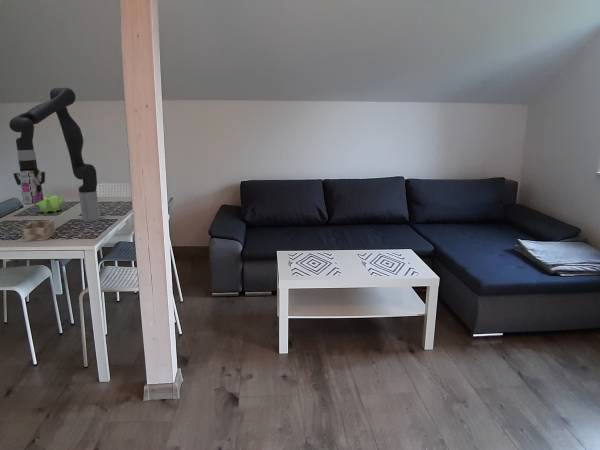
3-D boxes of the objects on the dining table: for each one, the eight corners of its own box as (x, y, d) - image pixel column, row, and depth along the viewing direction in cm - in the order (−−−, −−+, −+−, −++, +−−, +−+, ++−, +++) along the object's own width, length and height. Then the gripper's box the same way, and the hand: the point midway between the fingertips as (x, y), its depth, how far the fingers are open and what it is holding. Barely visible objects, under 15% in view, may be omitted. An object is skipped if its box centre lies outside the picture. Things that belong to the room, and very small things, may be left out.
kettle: (68, 210, 289) (66, 193, 286) (51, 215, 276) (48, 197, 273) (50, 208, 294) (48, 192, 291) (32, 213, 280) (29, 196, 278)
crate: (54, 231, 238) (53, 220, 237) (47, 239, 223) (45, 228, 221) (31, 232, 235) (30, 222, 234) (22, 241, 220) (20, 230, 218)
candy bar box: (34, 204, 219) (28, 171, 215) (23, 204, 219) (17, 171, 215) (44, 200, 230) (39, 168, 226) (34, 200, 230) (29, 168, 226)
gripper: (45, 157, 225) (50, 190, 229) (12, 158, 221) (18, 192, 225) (41, 159, 218) (46, 193, 222) (8, 160, 214) (14, 194, 218)
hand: (32, 192), depth 223 cm, fingers closed on candy bar box, 5 cm apart
